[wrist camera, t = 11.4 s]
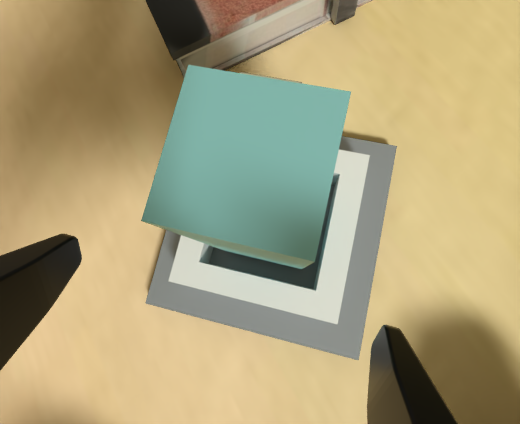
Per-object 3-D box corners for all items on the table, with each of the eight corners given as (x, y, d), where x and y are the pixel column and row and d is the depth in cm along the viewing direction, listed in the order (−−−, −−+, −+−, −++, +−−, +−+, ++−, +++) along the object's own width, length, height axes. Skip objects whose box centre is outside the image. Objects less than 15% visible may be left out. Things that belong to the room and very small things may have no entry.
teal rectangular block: (301, 269, 22) (315, 261, 9) (227, 251, 22) (141, 220, 10) (318, 190, 22) (353, 80, 10) (246, 175, 23) (191, 54, 10)
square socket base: (355, 356, 21) (367, 371, 18) (151, 302, 23) (127, 306, 20) (392, 151, 23) (409, 130, 20) (203, 116, 25) (190, 92, 22)
